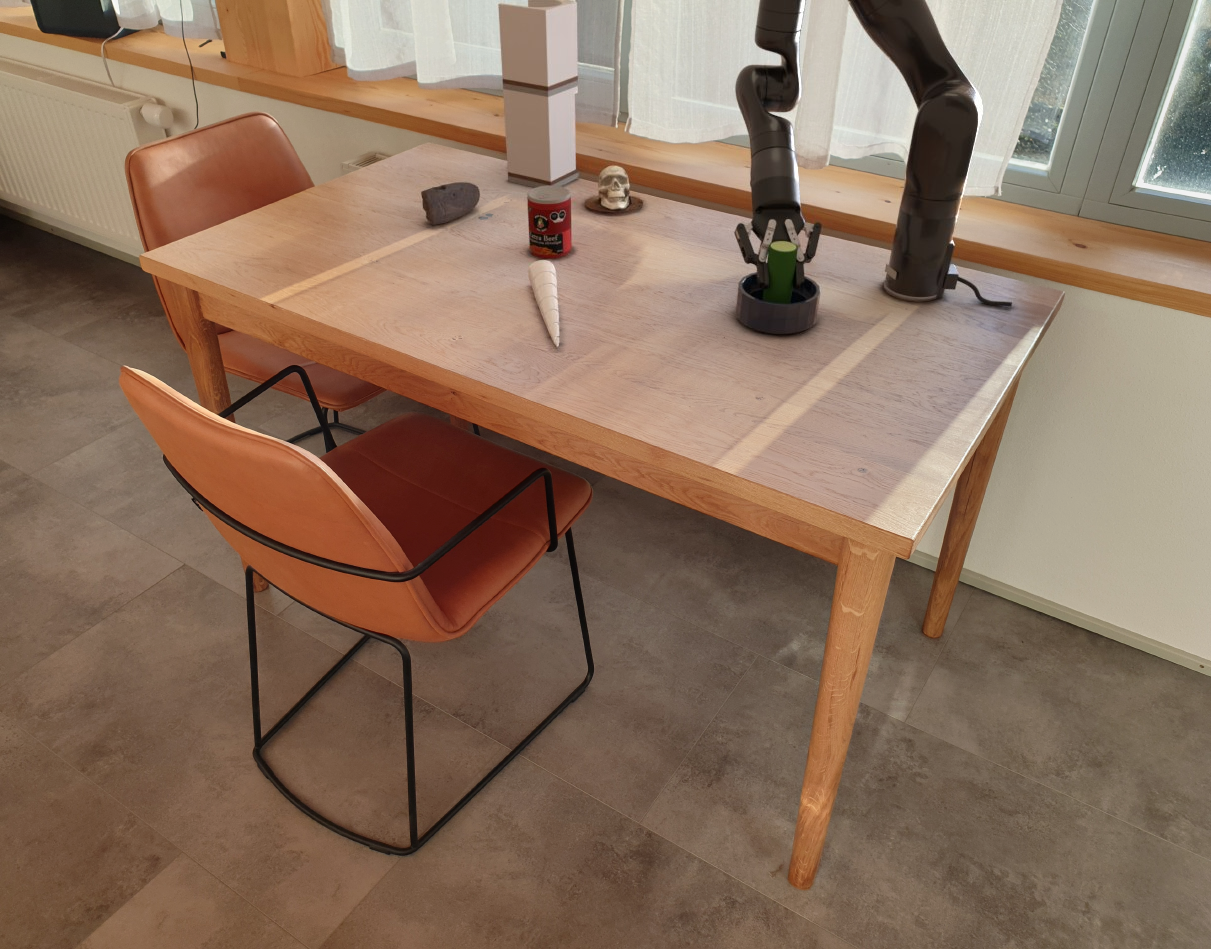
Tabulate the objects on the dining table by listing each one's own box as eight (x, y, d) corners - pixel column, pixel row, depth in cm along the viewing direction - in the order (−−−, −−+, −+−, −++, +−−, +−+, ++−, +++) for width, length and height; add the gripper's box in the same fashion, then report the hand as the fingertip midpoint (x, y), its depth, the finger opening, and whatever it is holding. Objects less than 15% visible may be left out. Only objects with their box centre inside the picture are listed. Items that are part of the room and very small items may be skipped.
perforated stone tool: (472, 204, 192) (469, 171, 188) (489, 210, 189) (487, 176, 185) (415, 225, 183) (411, 190, 179) (432, 232, 180) (429, 196, 176)
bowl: (813, 303, 156) (817, 272, 153) (818, 339, 146) (823, 307, 142) (735, 299, 157) (738, 268, 154) (735, 334, 147) (738, 302, 143)
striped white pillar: (578, 177, 206) (576, 1, 185) (551, 191, 199) (545, 10, 178) (536, 168, 211) (530, -4, 190) (508, 181, 204) (498, 4, 183)
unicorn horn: (532, 350, 142) (531, 322, 139) (528, 285, 161) (527, 258, 158) (564, 349, 142) (563, 321, 140) (556, 284, 162) (555, 257, 159)
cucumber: (789, 300, 152) (797, 241, 146) (790, 312, 148) (798, 252, 142) (761, 298, 152) (768, 239, 146) (762, 310, 148) (769, 251, 142)
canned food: (522, 255, 171) (519, 196, 165) (541, 240, 177) (539, 182, 171) (560, 262, 169) (559, 202, 162) (578, 246, 175) (577, 188, 168)
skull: (650, 210, 187) (615, 173, 182) (611, 243, 191) (577, 207, 186) (647, 187, 196) (614, 151, 191) (610, 219, 200) (577, 185, 196)
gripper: (734, 174, 144) (741, 280, 142) (825, 173, 145) (833, 278, 143) (726, 195, 152) (731, 296, 149) (812, 194, 153) (820, 295, 150)
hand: (781, 287), depth 146 cm, fingers closed on cucumber, 4 cm apart
